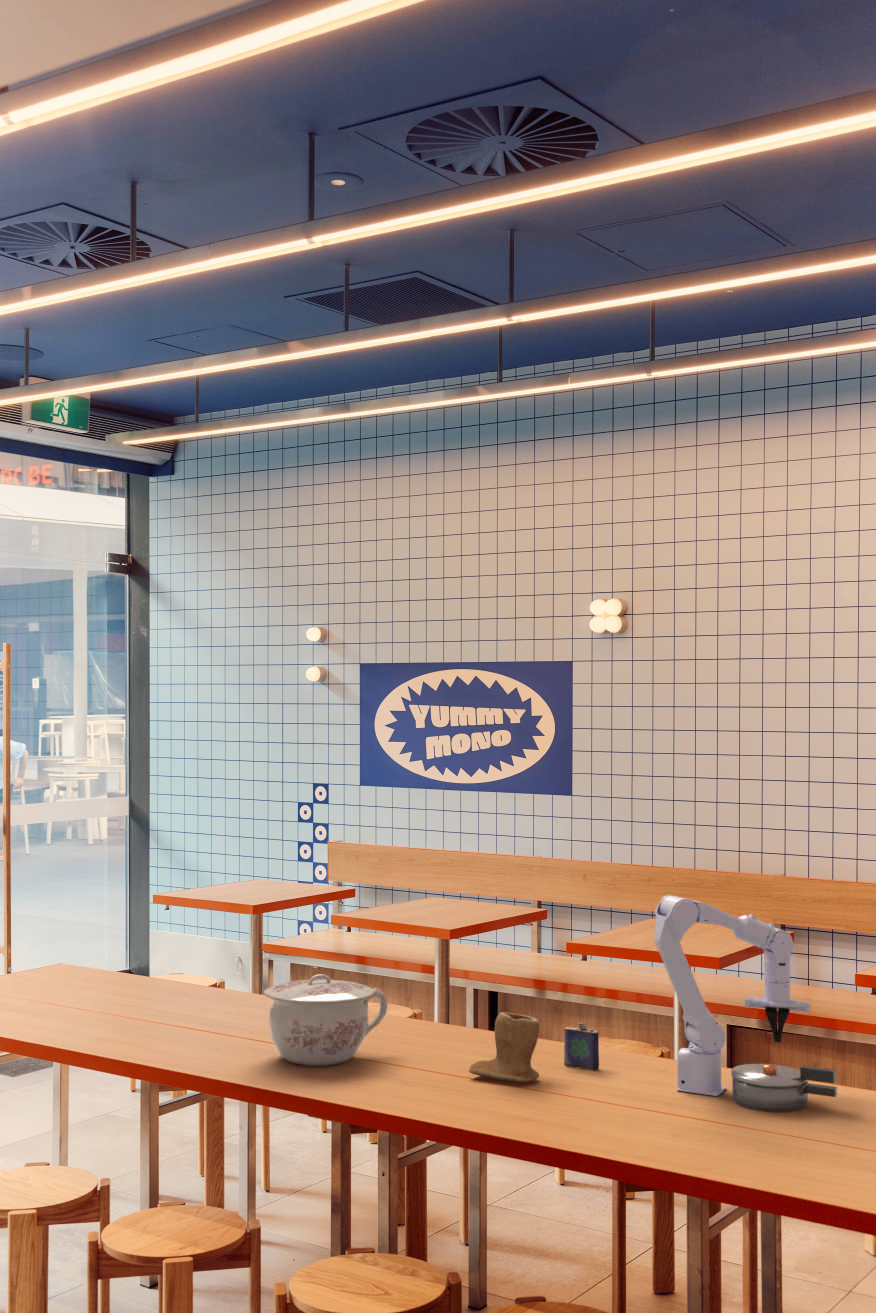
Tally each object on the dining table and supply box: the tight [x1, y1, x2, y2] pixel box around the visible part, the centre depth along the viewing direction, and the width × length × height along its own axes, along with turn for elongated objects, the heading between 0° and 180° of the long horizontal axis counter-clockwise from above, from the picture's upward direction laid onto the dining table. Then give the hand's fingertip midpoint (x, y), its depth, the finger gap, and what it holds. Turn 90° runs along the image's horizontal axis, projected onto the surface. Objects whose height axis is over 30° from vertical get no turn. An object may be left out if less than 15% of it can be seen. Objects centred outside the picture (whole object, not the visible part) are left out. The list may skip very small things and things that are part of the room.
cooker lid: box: [730, 1063, 837, 1088], centre depth 266 cm, size 22×16×3 cm
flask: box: [563, 1021, 600, 1071], centre depth 297 cm, size 9×3×11 cm, turn 55°
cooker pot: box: [731, 1076, 838, 1113], centre depth 266 cm, size 22×16×5 cm
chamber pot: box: [263, 973, 388, 1067], centre depth 301 cm, size 28×28×21 cm
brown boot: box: [468, 1012, 540, 1083], centre depth 285 cm, size 15×12×15 cm
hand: (777, 1041), depth 280 cm, fingers closed
